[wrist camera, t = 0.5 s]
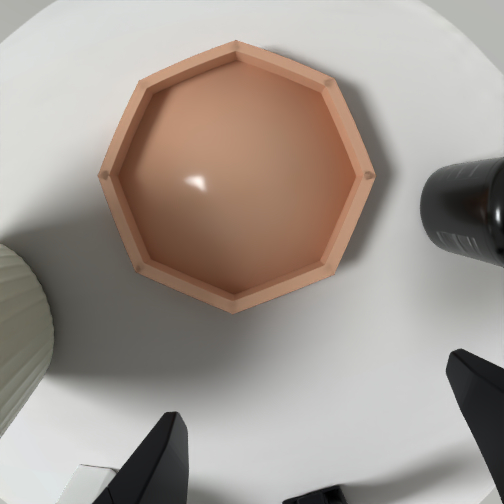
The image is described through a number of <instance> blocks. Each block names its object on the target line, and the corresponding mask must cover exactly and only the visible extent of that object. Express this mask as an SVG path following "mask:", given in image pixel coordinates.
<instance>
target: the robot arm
mask: <svg viewBox="0 0 504 504" xmlns="http://www.w3.org/2000/svg"><path fill="white" fill-rule="evenodd" d="M446 375H447V378H448V380H449V382H450V385H451V387H452V390H453V392H454V395H455V398H456V400H457V403H458V405H459V408H460V410H461V412H462V414H463V416H464V418H465V420H466V422H467V424H468V426H469V428H470V430H471V432H472V434H473V436H474V438H475V440H476V442H477V445H478V447H479V449H480V451H481V453H482V455H483V457H484V460H485V462H486V464H487V466H488V469H489V471H490V473H491V476H492V478H493V480H494V483H495V485H496V487H497V490H498V492H499V495H500V497H501V500H502V503H503V504H504V369H503V368H501V367H499V366H497V365H495V364H493V363H491V362H489V361H487V360H485V359H483V358H480V357H478V356H476V355H474V354H472V353H470V352H468V351H466V350H464V349H457V350H455V351H452V352H451V353H450V355H449V359H448V363H447V367H446ZM188 478H189V458H188V431H187V427H186V425H185V423H184V421H183V419H182V417H181V416H180V414H179V413H178V412H176V411H175V412H166V413H164V415H163V416H162V417H161V418H160V420H159V421H158V422H157V424H156V425H155V426H154V427H153V429H152V430H151V431H150V432H149V434H148V435H147V436H146V438H145V439H144V440H143V441H142V443H141V444H140V445H139V446H138V448H137V449H136V450H135V451H134V453H133V454H132V455H131V456H130V458H129V459H128V460H127V462H126V463H125V464H124V465H123V466H122V468H121V469H120V470H119V471H118V473H117V474H116V475H115V476H114V478H113V479H112V480H111V481H110V483H109V484H108V487H107V486H106V487H105V489H104V490H103V491H102V492H101V493H100V495H99V496H98V497H97V498H96V499H95V500H94V501H93V503H92V504H186V501H187V489H188ZM282 504H347V502H346V500H345V497H344V495H343V493H342V491H341V488H340V487H339V486H334V487H331V488H328V489H325V490H322V491H318V492H315V493H312V494H308V495H305V496H301V497H298V498H294V499H290V500H286V501H283V502H282Z"/></svg>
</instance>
